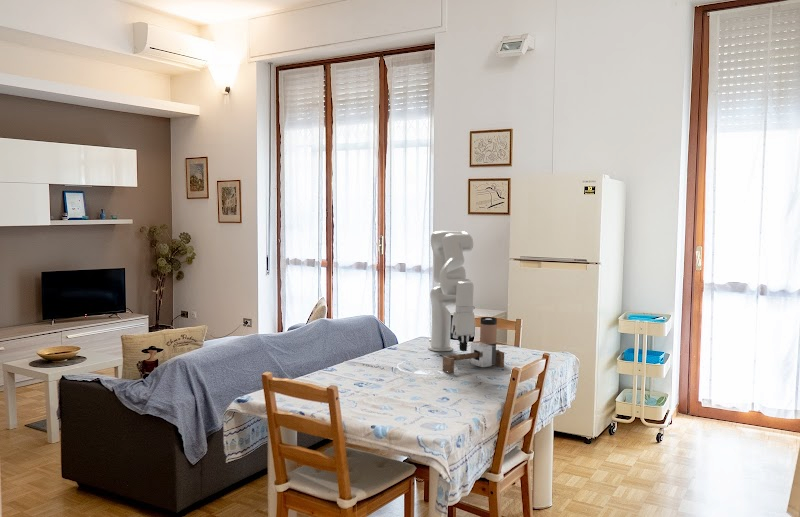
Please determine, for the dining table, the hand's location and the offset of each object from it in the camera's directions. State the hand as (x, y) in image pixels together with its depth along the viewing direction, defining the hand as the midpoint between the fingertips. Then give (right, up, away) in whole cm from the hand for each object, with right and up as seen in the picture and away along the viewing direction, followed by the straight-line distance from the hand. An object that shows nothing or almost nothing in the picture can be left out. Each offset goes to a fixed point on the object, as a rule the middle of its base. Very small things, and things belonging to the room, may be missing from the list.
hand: (463, 350), depth 296 cm
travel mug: (+13, -8, +19) cm, 25 cm away
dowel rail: (+5, -9, +3) cm, 10 cm away
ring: (+12, -6, +7) cm, 15 cm away
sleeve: (+8, -7, +5) cm, 12 cm away
